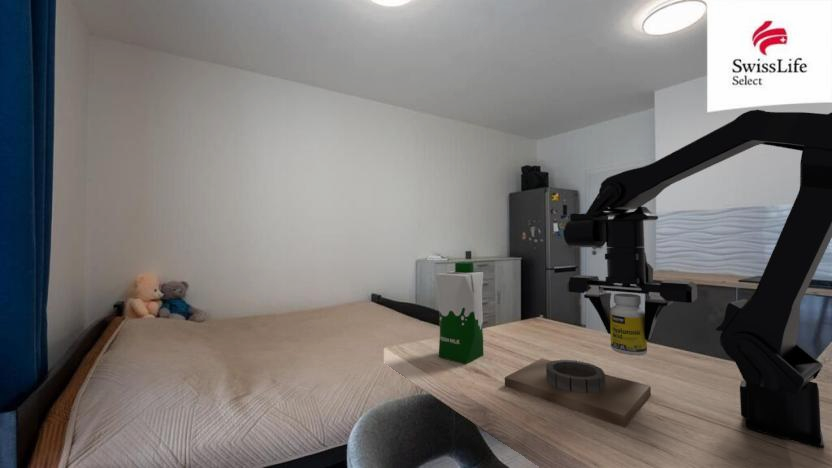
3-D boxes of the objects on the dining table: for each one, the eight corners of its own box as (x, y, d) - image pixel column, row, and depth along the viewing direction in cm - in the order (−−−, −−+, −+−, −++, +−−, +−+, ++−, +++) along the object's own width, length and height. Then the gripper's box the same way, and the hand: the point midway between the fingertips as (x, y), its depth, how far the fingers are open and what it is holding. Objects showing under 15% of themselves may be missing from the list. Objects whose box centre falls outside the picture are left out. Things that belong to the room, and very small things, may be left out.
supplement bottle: (607, 351, 59) (605, 295, 59) (615, 344, 63) (613, 291, 63) (644, 358, 55) (642, 298, 56) (650, 350, 59) (647, 294, 60)
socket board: (650, 395, 53) (650, 372, 53) (624, 427, 44) (623, 400, 44) (541, 366, 66) (541, 348, 66) (504, 386, 57) (504, 365, 57)
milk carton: (489, 354, 73) (487, 262, 74) (467, 367, 67) (464, 265, 67) (455, 347, 79) (453, 261, 80) (431, 357, 72) (430, 264, 73)
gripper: (700, 246, 58) (704, 337, 58) (587, 246, 72) (589, 320, 72) (689, 247, 51) (693, 352, 50) (564, 248, 64) (567, 330, 64)
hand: (628, 336), depth 59 cm, fingers closed on supplement bottle, 5 cm apart
